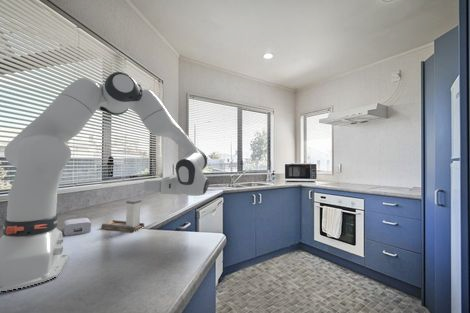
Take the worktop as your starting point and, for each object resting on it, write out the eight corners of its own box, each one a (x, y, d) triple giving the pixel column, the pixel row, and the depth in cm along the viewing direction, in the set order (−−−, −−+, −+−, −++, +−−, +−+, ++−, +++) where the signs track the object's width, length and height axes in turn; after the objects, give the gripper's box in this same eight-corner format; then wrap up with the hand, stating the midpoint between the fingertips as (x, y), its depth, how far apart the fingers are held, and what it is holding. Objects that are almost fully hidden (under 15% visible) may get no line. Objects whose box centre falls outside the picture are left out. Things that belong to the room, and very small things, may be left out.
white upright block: (140, 225, 107) (141, 200, 107) (132, 228, 102) (134, 201, 102) (132, 224, 108) (133, 199, 108) (125, 227, 103) (126, 201, 103)
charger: (86, 224, 110) (90, 232, 98) (63, 227, 104) (64, 236, 92) (87, 214, 110) (91, 221, 98) (63, 217, 104) (64, 224, 92)
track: (144, 227, 108) (144, 223, 108) (133, 232, 100) (133, 227, 100) (113, 224, 111) (114, 220, 111) (101, 228, 104) (101, 224, 104)
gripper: (183, 176, 112) (158, 175, 114) (162, 179, 92) (133, 177, 94) (183, 189, 111) (158, 187, 114) (162, 194, 91) (132, 192, 94)
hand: (146, 182), depth 104 cm, fingers closed
